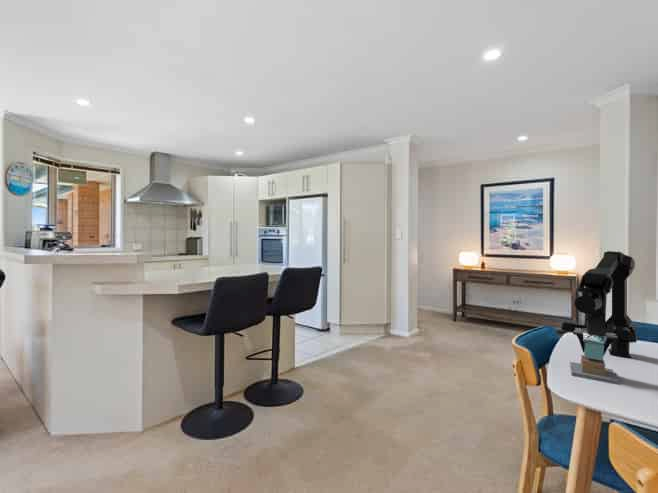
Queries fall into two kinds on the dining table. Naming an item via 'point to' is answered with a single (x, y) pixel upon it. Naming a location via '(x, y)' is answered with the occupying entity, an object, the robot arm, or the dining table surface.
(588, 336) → the stick construction toy
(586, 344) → the teal cube
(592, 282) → the robot arm
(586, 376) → the slate board
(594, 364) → the walnut base block
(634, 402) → the dining table surface
